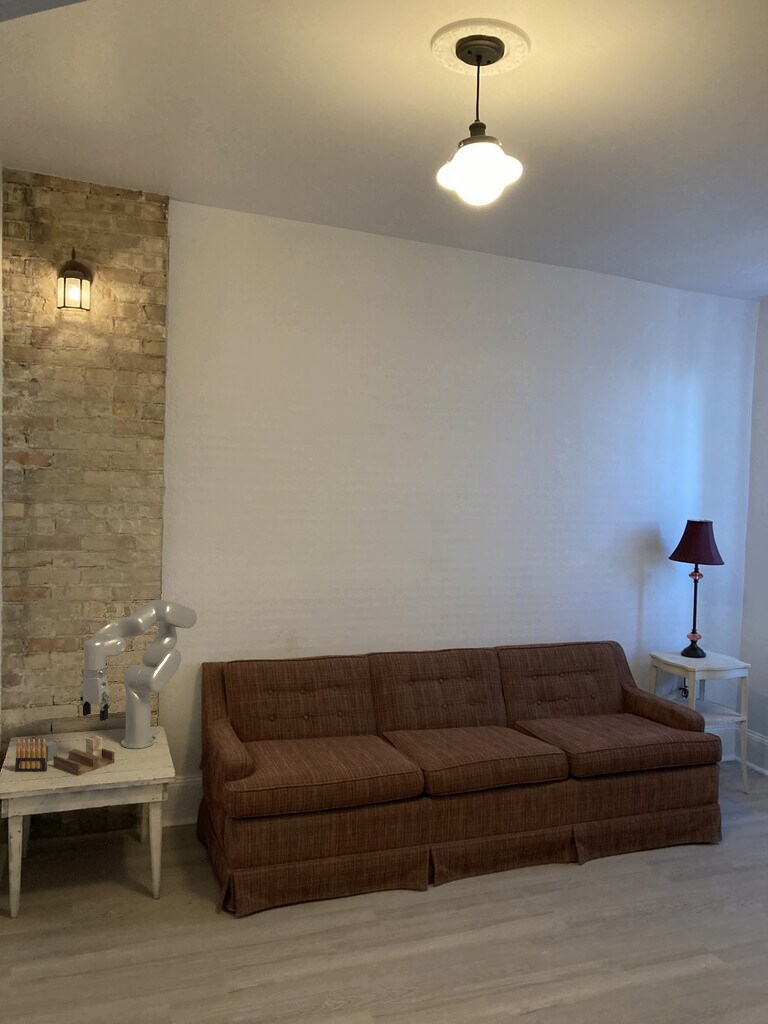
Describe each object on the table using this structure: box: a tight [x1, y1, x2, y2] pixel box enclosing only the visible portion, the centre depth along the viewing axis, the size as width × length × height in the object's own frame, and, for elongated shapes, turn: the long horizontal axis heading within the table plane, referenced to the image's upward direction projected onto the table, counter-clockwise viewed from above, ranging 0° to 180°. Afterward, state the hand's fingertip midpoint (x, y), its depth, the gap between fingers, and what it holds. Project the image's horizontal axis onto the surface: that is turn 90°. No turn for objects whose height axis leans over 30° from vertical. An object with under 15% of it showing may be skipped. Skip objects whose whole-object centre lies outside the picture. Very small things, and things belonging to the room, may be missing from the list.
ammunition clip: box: [14, 737, 48, 773], centre depth 296 cm, size 11×2×12 cm, turn 96°
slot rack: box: [52, 747, 115, 777], centre depth 303 cm, size 16×14×4 cm
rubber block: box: [41, 740, 58, 763], centre depth 308 cm, size 4×4×6 cm
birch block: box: [85, 734, 103, 759], centre depth 307 cm, size 4×4×8 cm
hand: (95, 717), depth 307 cm, fingers open, 9 cm apart
